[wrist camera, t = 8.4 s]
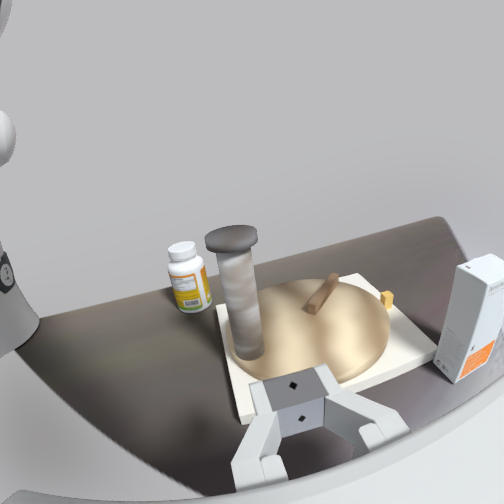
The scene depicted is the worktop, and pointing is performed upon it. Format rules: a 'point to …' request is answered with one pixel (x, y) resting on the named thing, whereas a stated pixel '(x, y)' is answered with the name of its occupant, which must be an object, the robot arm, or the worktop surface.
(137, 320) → the worktop surface
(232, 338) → the dial
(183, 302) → the supplement bottle
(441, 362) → the skincare box
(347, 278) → the dial stand
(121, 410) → the worktop surface
